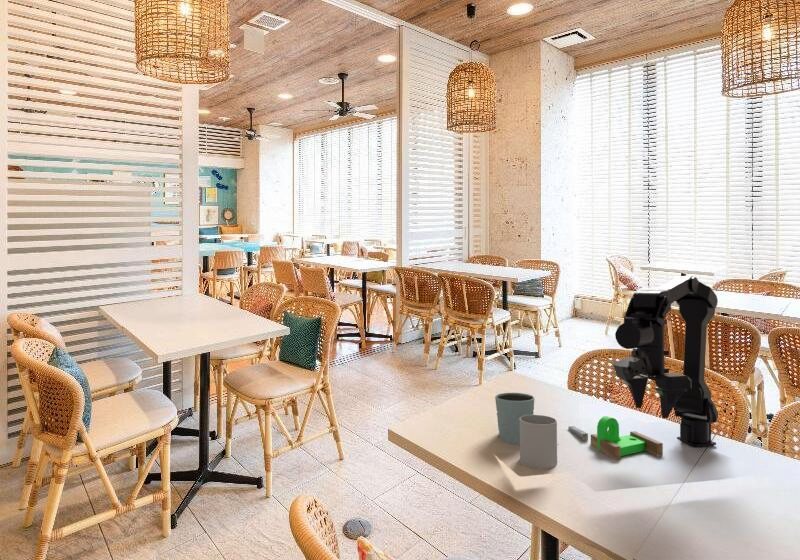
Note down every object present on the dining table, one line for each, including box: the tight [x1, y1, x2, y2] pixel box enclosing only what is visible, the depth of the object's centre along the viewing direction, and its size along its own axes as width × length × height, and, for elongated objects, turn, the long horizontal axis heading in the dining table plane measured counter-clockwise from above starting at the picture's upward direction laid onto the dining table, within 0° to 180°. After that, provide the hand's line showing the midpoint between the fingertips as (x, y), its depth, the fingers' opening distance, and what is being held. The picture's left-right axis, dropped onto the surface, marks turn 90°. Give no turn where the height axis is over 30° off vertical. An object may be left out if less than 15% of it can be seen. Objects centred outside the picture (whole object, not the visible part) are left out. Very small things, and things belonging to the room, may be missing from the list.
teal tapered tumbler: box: [494, 392, 535, 446], centre depth 131 cm, size 10×10×12 cm
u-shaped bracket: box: [567, 425, 589, 442], centre depth 132 cm, size 12×8×3 cm, turn 102°
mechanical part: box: [596, 415, 646, 457], centre depth 124 cm, size 12×6×8 cm, turn 117°
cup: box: [519, 414, 558, 470], centre depth 116 cm, size 8×8×10 cm
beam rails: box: [590, 430, 664, 461], centre depth 124 cm, size 13×10×3 cm
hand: (651, 412), depth 114 cm, fingers open, 9 cm apart
